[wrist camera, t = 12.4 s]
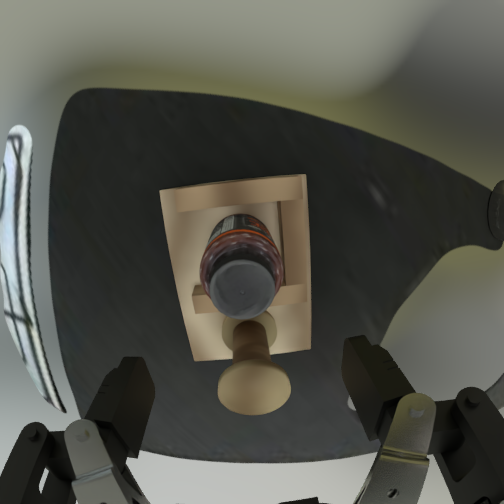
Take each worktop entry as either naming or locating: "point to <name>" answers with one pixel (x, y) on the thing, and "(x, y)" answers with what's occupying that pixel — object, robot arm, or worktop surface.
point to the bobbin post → (252, 367)
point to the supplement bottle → (241, 267)
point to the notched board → (285, 238)
